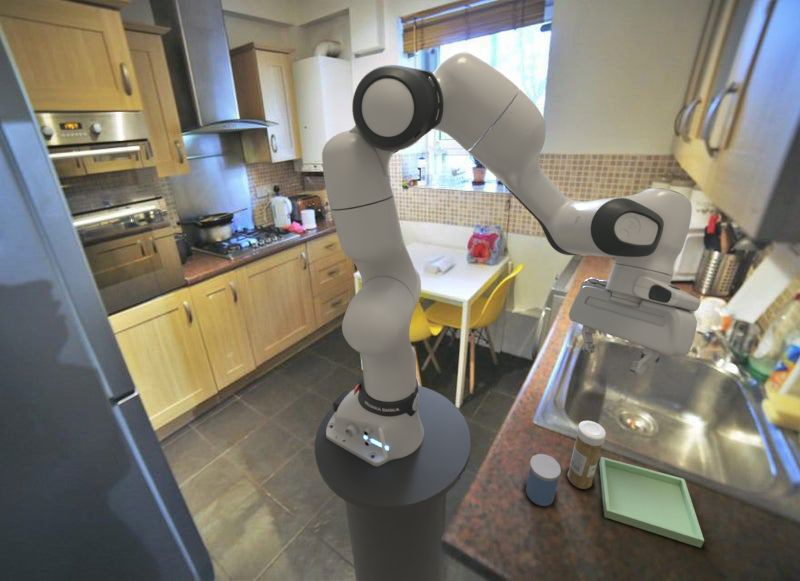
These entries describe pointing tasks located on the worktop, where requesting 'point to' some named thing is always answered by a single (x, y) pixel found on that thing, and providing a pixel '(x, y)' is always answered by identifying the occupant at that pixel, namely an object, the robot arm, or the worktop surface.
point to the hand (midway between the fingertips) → (610, 361)
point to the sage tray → (649, 501)
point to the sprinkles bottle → (586, 453)
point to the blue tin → (542, 479)
